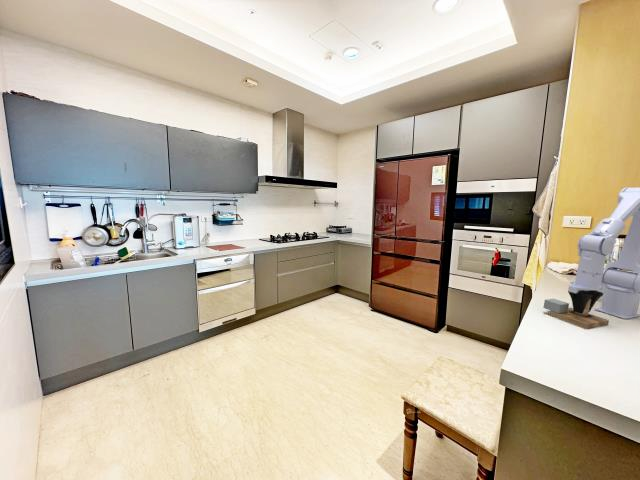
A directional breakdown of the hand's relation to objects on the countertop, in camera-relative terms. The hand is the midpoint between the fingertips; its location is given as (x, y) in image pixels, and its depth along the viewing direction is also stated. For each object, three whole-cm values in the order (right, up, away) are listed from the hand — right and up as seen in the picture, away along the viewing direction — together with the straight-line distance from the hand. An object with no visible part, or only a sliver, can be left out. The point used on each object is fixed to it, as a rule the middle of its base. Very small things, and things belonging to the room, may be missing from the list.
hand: (581, 311), depth 85 cm
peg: (0, -1, 0) cm, 1 cm away
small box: (+28, -1, +20) cm, 34 cm away
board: (-2, -3, -1) cm, 4 cm away
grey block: (-7, 0, +2) cm, 7 cm away
